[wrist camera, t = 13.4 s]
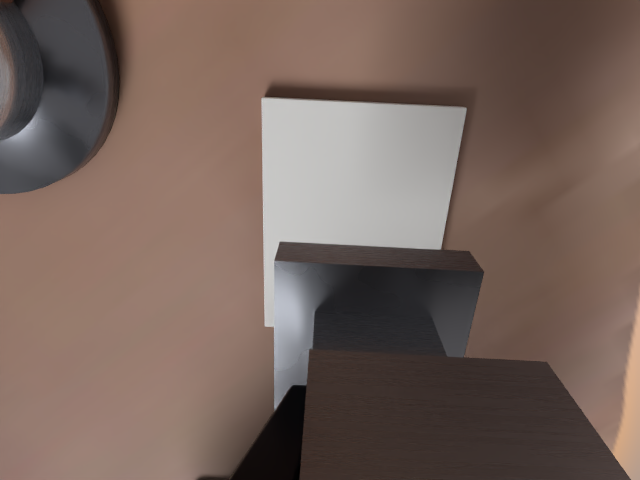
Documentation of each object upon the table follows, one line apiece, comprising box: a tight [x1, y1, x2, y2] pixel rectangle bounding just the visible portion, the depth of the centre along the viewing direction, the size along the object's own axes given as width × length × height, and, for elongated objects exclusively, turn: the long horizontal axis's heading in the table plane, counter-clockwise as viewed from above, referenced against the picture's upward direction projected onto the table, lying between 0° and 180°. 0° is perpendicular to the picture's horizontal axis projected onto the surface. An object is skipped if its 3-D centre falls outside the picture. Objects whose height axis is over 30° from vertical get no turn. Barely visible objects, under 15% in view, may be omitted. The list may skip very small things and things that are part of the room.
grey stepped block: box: [274, 241, 631, 480], centre depth 7 cm, size 7×4×7 cm, turn 177°
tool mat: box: [262, 97, 467, 327], centre depth 17 cm, size 10×7×1 cm
